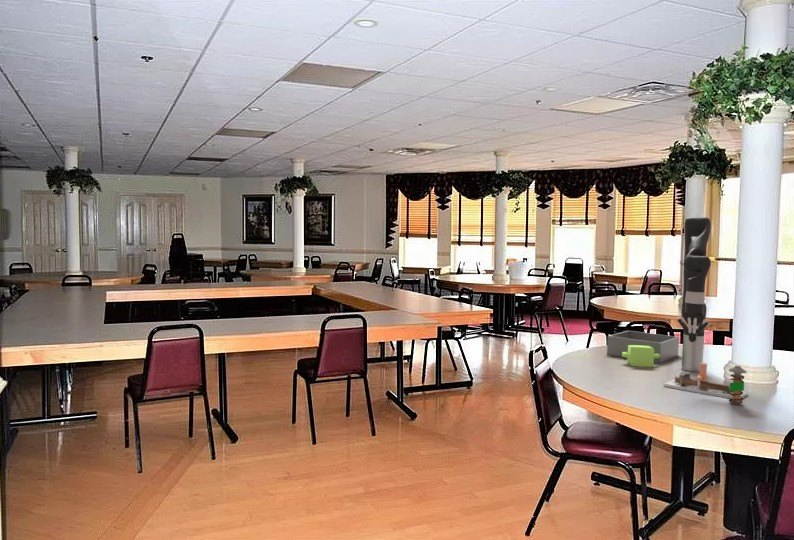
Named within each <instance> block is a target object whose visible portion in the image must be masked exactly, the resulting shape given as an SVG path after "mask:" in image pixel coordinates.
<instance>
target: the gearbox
mask: <svg viewBox="0 0 794 540" xmlns="http://www.w3.org/2000/svg"><path fill="white" fill-rule="evenodd" d="M622 356H623V357H622V358H627V361H626V362H627V364H629V366H631V367H641V368H642V367H643V368H644V367H645V368H651V367H654V363H655V362H654V358H659V357H660V355H659V354H654V348H652V347H650V346H641V345H628V352H622Z"/></svg>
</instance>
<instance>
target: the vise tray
mask: <svg viewBox="0 0 794 540" xmlns="http://www.w3.org/2000/svg"><path fill="white" fill-rule="evenodd" d="M679 342H680V337H679V336H673V335H665V334H656V333H652V332H651V333H648V332H642V331H635V330H624V331H622V332H621V331H620V332H616V333H614V334H610V335H607V342H606V343H607V344H606V346H607V347H606V355H609V356H614V357H615V356H616V357H622V358H624V357H623V356H622V352H628V345H641V346H650V347H652V348H654V354H659V355H660V357H659V358H654V363H659V364H661V363H663V362H665V361H667V360H670V359H673V358H675V357H677V356H679V348H680V347H679V346H680V345H679V344H680V343H679Z"/></svg>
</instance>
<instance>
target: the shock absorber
mask: <svg viewBox="0 0 794 540" xmlns="http://www.w3.org/2000/svg"><path fill="white" fill-rule="evenodd" d="M728 372H731V373H732V374H730V377H732V378H730V380H731V381H732V382H730V383H729V384H728V385H729V391H733V392H732V394H731V393H730V395H732V399H730V398H728V399H729V400H728V401H729V402H730V403H731V404H732V405H737V406H739V405H740V404H743V403H744V402H743V401H742V400H743V399H744V398H742V397H741V396H740V395H742V394H743V392H742V391H744V392H745V381H744V379H745V376H744V375H742V374H747V373H748V372H747V370H745V369H744V368H743V367H742V366H741V365H735V366H734V367H731V368H729V369H728ZM740 392H741V394H740ZM740 397H741V399H740Z"/></svg>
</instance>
